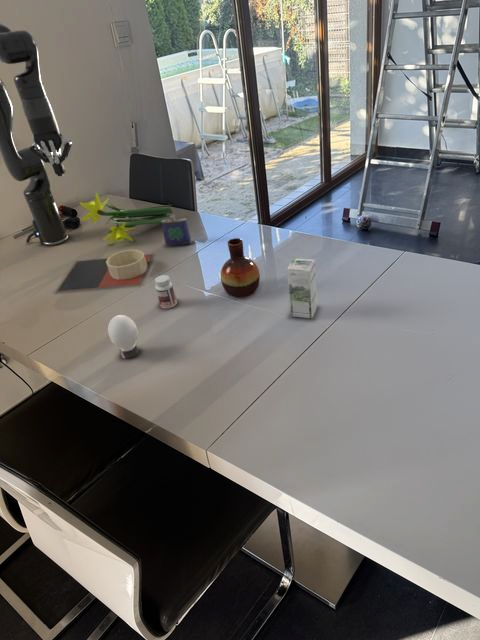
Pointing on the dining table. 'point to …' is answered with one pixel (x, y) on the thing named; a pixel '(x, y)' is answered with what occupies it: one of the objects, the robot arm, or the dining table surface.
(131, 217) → the daffodil flowers
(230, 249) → the vase
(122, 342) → the light bulb
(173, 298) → the pill bottle
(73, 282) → the placemat
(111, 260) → the bowl
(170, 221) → the flask
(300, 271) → the syrup box
